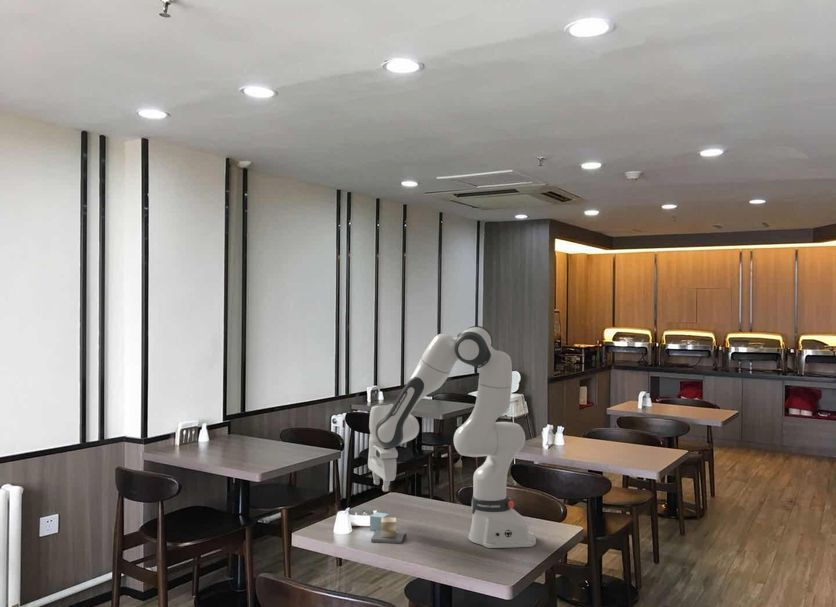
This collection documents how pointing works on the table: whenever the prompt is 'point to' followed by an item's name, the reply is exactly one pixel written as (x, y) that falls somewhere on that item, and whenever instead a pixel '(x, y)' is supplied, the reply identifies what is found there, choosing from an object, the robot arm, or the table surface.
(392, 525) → the birch cube
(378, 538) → the slate coaster
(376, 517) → the bluegrey cube
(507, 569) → the table surface
